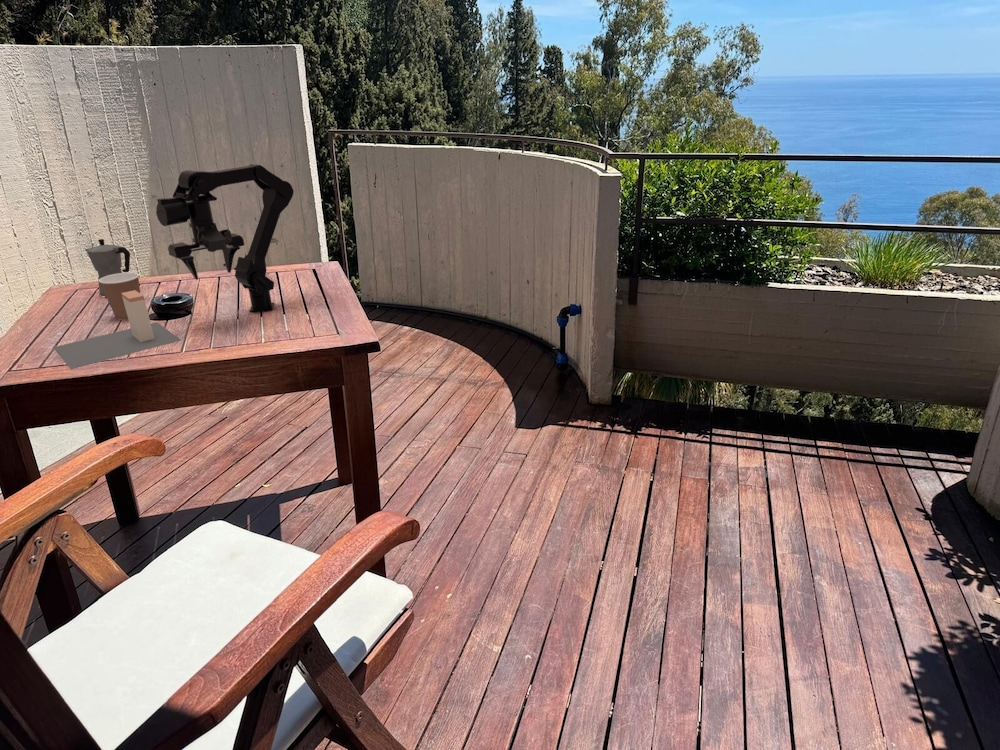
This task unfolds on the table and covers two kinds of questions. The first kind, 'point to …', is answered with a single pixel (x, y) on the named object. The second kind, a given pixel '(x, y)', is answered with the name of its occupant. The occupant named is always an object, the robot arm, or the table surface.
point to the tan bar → (138, 315)
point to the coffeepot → (108, 260)
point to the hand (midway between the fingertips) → (213, 275)
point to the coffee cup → (119, 291)
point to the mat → (111, 346)
